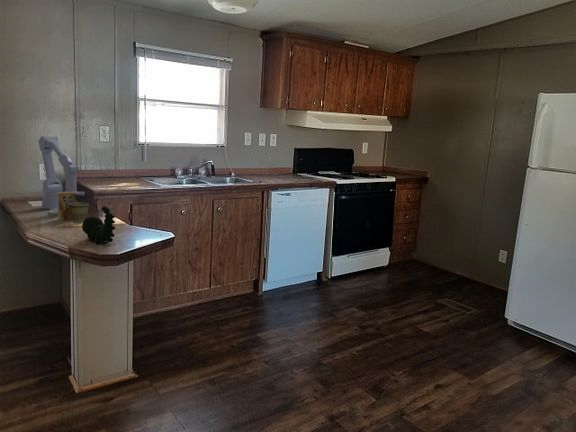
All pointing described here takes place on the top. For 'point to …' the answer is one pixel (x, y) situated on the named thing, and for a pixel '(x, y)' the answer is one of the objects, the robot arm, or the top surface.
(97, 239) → the toy figurine
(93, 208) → the top surface
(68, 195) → the candy box
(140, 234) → the top surface
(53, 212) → the fader board
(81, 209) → the ceramic cup
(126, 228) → the top surface
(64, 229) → the top surface
